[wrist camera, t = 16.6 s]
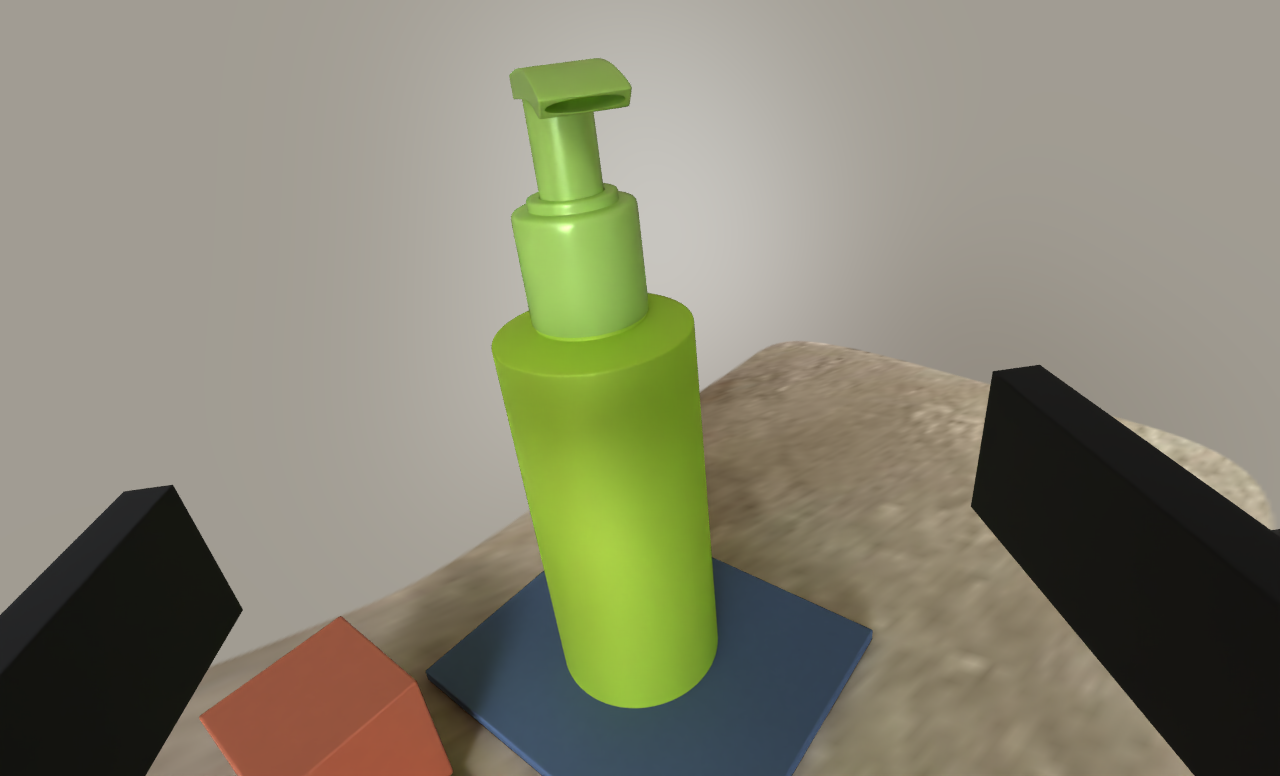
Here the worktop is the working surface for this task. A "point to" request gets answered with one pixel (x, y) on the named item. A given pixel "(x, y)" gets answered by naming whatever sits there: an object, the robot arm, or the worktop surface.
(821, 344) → the worktop surface
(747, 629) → the slate mat
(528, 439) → the soap dispenser
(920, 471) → the worktop surface
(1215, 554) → the robot arm
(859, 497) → the worktop surface
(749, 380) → the worktop surface
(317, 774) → the terracotta block
